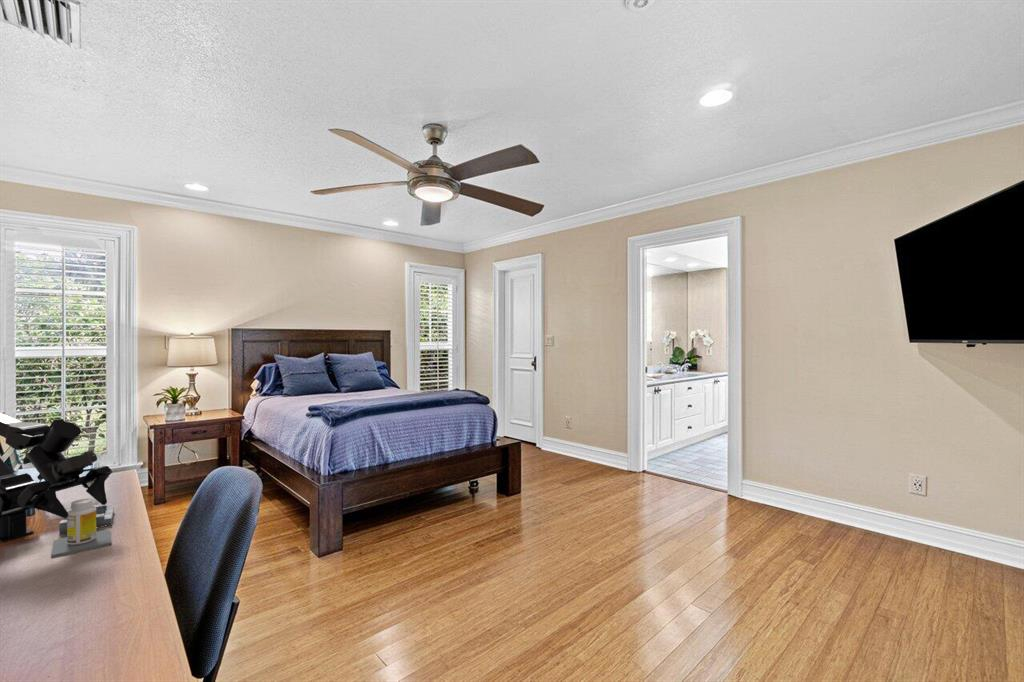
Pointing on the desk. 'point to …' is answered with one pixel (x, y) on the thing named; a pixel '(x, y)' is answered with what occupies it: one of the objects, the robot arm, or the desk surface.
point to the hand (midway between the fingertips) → (86, 510)
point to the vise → (100, 518)
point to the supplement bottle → (81, 522)
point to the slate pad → (64, 548)
